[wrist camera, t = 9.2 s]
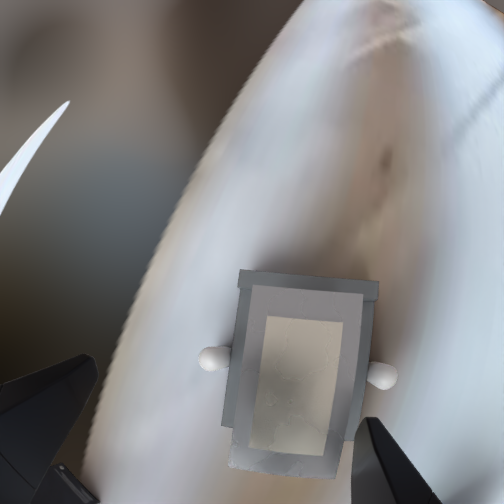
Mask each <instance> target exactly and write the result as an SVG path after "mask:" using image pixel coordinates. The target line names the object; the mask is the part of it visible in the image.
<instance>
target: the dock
mask: <svg viewBox="0 0 504 504" xmlns="http://www.w3.org/2000/svg"><path fill="white" fill-rule="evenodd" d="M253 285H261V286H272V287H282V288H294V289H305V290H317V291H330V292H343V293H356V294H363V306H362V319H361V331H360V341H359V350H358V359H357V367H356V374H355V381H354V388H353V395H352V401H351V407H350V412H349V418H348V423H347V428H346V433H345V438H344V441H354V437H355V433H356V431H357V429H358V425H359V420H360V414H361V409H362V403H363V398H364V391H365V385H366V381H368V382H369V383H371V384H373V385H374V386H376V387H378V388H379V389H382V390H386V389H389V388H391V387H393V386H394V385H395V383H396V381H397V378H398V373H397V370H396V368H395V367H393V366H392V365H388V364H384V363H380V362H376V361H373V362H369V356H370V347H371V338H372V327H373V315H374V301H376V300H378V289H379V281H367V280H354V279H342V278H330V277H318V276H306V275H295V274H284V273H273V272H262V271H252V270H242V269H240V272H239V279H238V286H237V287H238V288H239V289H240V296H239V303H238V309H237V316H236V323H235V330H234V337H233V344H232V349H231V348H229V347H226V346H221V347H206V348H204V349H203V350H202V351H201V352H200V354H199V363H200V365H201V367H202V368H203V369H205V370H206V371H210V372H212V371H216V370H220V369H223V368H226V367H229V373H228V380H227V387H226V394H225V401H224V409H223V416H222V423H221V426H225V427H230V428H233V426H234V419H235V412H236V405H237V397H238V390H239V383H240V376H241V368H242V361H243V354H244V346H245V339H246V331H247V324H248V317H249V309H250V302H251V294H252V287H253Z"/></svg>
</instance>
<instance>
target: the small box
mask: <svg viewBox="0 0 504 504" xmlns="http://www.w3.org/2000/svg"><path fill="white" fill-rule="evenodd" d="M30 504H100V503H99V501H98V500H97V499H96V498H94V497H93V496H92V495H91V494H90V493H89V492H88V490H87V489H86V488H85V487H84V486H83V485H82V484H81V483H80V482H79V481H78V480H77V479H76V478H75V476H74V475H73V474H72V473H71V472H70V471H69V470H68V468H67V467H66V466H65V465H64V464H63V463H59V464H56V465H53V466H50V467H49V468H48V470H47V472H46V474H45V476H44V477H43V479H42V481H41V483H40V485H39V487H38V488H37V490H36V492H35V494H34V496H33V498H32V500H31V502H30Z"/></svg>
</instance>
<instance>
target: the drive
mask: <svg viewBox="0 0 504 504" xmlns="http://www.w3.org/2000/svg"><path fill="white" fill-rule="evenodd" d="M362 306H363V294H356V293H343V292H330V291H317V290H305V289H294V288H282V287H272V286H261V285H253V287H252V294H251V302H250V309H249V317H248V324H247V331H246V339H245V346H244V354H243V361H242V368H241V376H240V383H239V390H238V397H237V405H236V412H235V419H234V426H233V433H232V441H231V448H230V455H229V462H228V467H232V468H237V469H242V470H248V471H254V472H260V473H267V474H274V475H282V476H291V477H302V478H317V479H335V477H336V473H337V469H338V465H339V461H340V456H341V452H342V448H343V443H344V438H345V433H346V428H347V423H348V418H349V412H350V407H351V401H352V395H353V388H354V381H355V374H356V367H357V359H358V350H359V341H360V331H361V319H362Z"/></svg>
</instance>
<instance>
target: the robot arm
mask: <svg viewBox="0 0 504 504" xmlns="http://www.w3.org/2000/svg"><path fill="white" fill-rule="evenodd" d="M98 376H99V374H98V370H97V366H96V362H95V359H94V358H93V357H92V356H90V355H87V354H80V355H78V356H75V357H73V358H70V359H67V360H65V361H62V362H60V363H58V364H55V365H52V366H49V367H47V368H44V369H42V370H39V371H37V372H34V373H31V374H28V375H26V376H23V377H20V378H18V379H15V380H12V381H10V382H7V383H4V385H3V384H1V385H0V504H30V502H31V500H32V498H33V496H34V494H35V492H36V490H37V488H38V487H39V485H40V483H41V481H42V479H43V477H44V476H45V474H46V472H47V470H48V468H49V467H50V465H51V463H52V461H53V460H54V458H55V456H56V454H57V453H58V451H59V449H60V447H61V446H62V444H63V442H64V441H65V439H66V437H67V436H68V434H69V432H70V431H71V429H72V428H73V426H74V424H75V423H76V421H77V419H78V418H79V416H80V414H81V413H82V411H83V409H84V407H85V405H86V403H87V401H88V399H89V396H90V394H91V392H92V390H93V388H94V386H95V384H96V382H97V380H98ZM351 504H442V502H441V501H440V500H439V499H438V497H437V496H436V495H435V493H434V492H432V489H431V488H430V487H429V485H428V484H427V483H426V481H425V480H424V479H423V477H422V476H421V475H420V473H419V472H418V471H417V469H416V468H415V467H414V465H413V464H412V463H411V461H410V460H409V459H408V457H407V456H406V455H405V453H404V452H403V451H402V449H401V448H400V447H399V445H398V444H397V443H396V441H395V440H394V439H393V437H392V436H391V435H390V433H389V432H388V431H387V429H386V428H385V427H384V425H383V424H382V423H381V421H380V420H379V419H378V418H377V417H365V418H364V419H363V421H362V422H361V424H360V426H359V427H358V429H357V431H356V433H355V437H354V449H353V461H352V472H351Z"/></svg>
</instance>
